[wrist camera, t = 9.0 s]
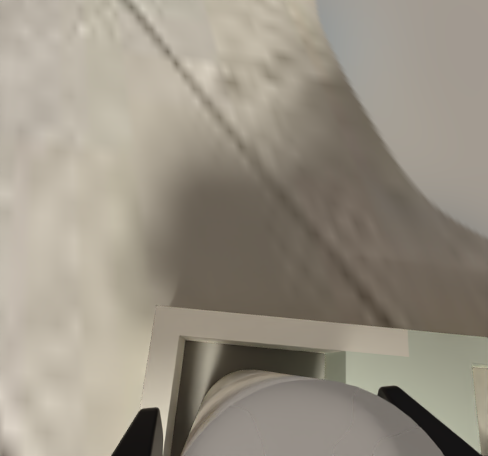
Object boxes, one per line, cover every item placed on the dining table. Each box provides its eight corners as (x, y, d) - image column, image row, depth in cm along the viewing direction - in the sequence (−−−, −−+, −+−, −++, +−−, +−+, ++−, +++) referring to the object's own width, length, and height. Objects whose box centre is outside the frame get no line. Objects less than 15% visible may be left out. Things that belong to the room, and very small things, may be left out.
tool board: (581, 354, 18) (648, 352, 15) (624, 573, 15) (716, 620, 12) (166, 314, 17) (156, 305, 15) (133, 535, 15) (113, 575, 12)
